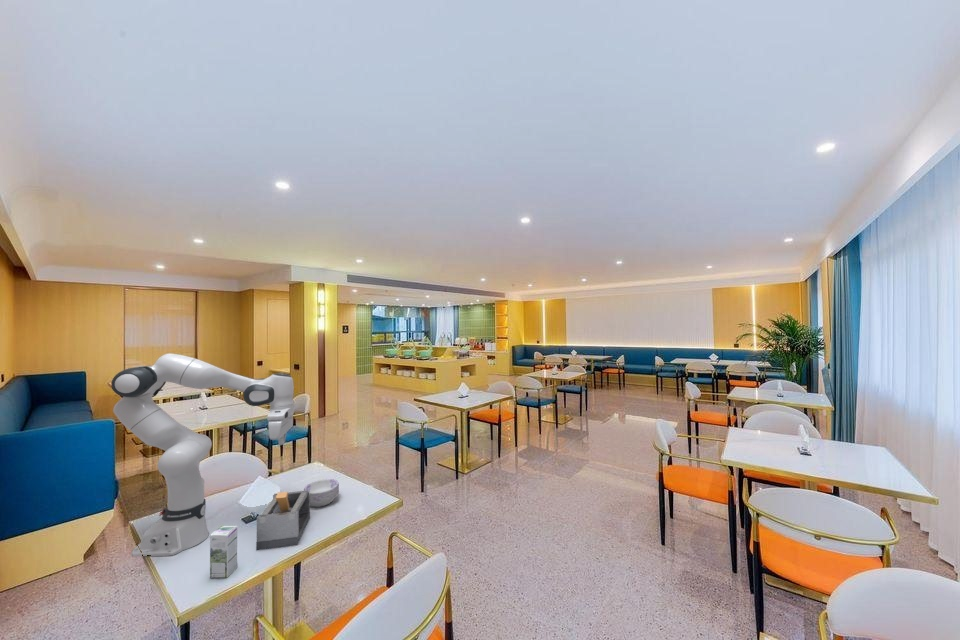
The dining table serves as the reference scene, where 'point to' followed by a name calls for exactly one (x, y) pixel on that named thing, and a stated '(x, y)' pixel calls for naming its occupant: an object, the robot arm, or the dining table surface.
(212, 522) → the dining table surface
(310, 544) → the dining table surface
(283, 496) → the lever
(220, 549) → the syrup box
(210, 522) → the dining table surface
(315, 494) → the paper bowls
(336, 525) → the dining table surface
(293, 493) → the grey storage bin
